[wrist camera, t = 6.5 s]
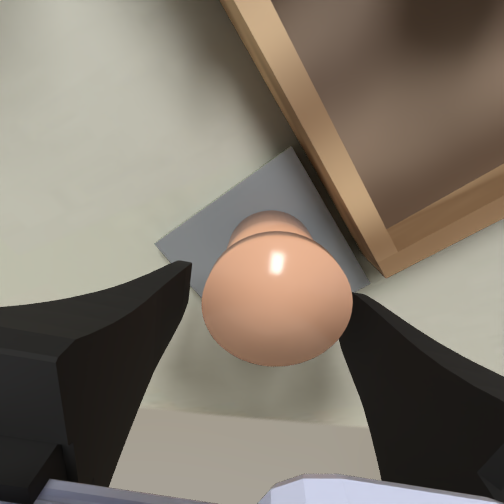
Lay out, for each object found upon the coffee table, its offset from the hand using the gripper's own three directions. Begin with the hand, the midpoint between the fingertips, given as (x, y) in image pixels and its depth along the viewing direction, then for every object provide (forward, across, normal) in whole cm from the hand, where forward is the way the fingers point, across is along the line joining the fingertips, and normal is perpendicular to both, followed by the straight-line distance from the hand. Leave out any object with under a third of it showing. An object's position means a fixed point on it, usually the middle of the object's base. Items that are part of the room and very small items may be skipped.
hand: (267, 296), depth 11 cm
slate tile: (+4, 0, 0) cm, 4 cm away
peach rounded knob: (+3, 0, -1) cm, 4 cm away
